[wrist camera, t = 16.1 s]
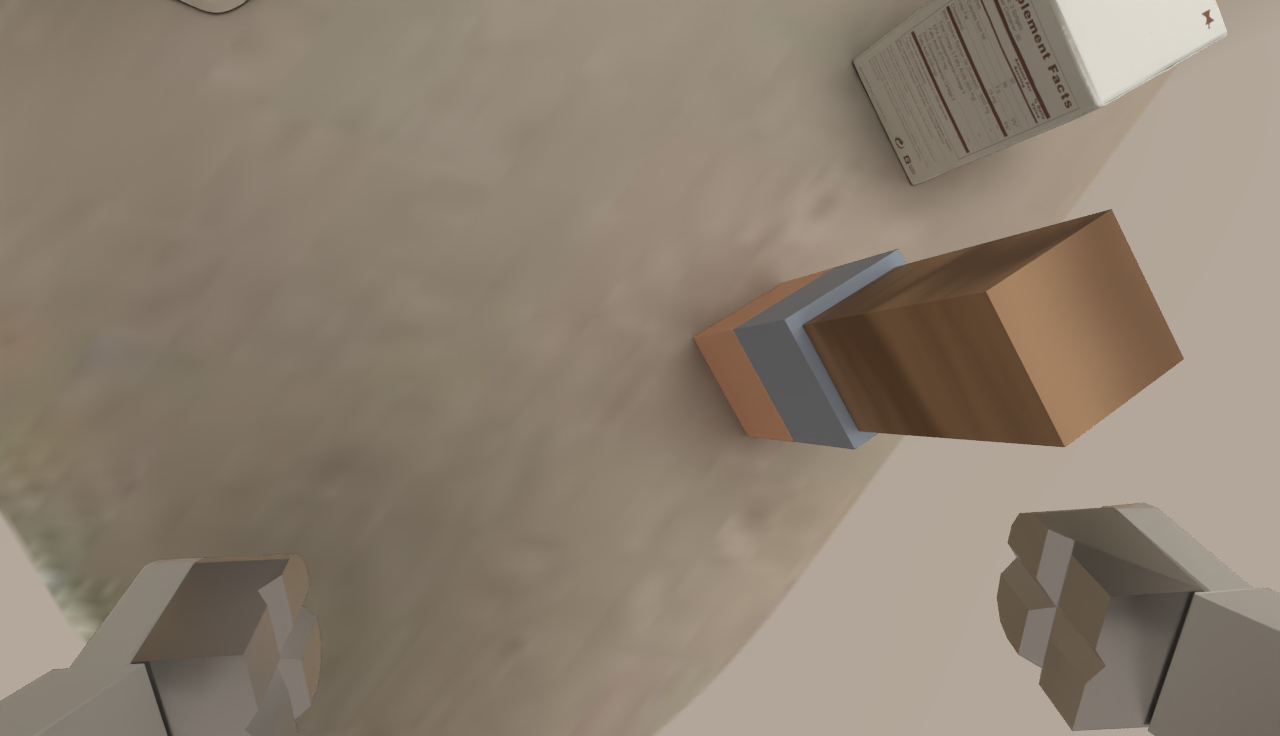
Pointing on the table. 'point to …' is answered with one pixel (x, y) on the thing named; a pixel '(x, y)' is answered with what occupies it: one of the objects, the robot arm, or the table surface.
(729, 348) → the terracotta block
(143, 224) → the table surface
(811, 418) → the slate block
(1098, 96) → the supplement box
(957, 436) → the walnut block
